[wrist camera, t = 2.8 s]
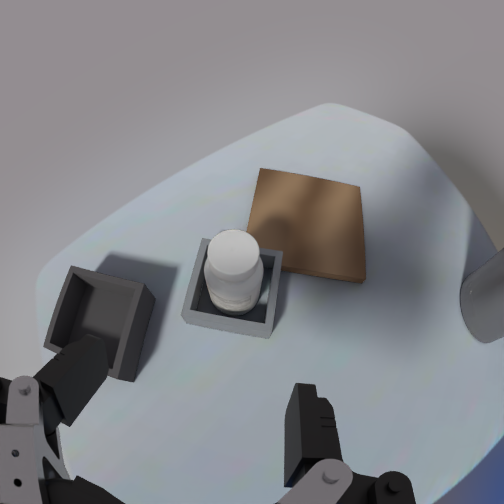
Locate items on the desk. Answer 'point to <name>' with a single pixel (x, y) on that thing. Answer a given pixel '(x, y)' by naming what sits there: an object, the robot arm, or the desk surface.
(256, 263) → the pill bottle
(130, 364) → the box
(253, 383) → the desk surface
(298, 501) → the robot arm
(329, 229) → the walnut pad
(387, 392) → the desk surface
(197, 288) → the sleeve
